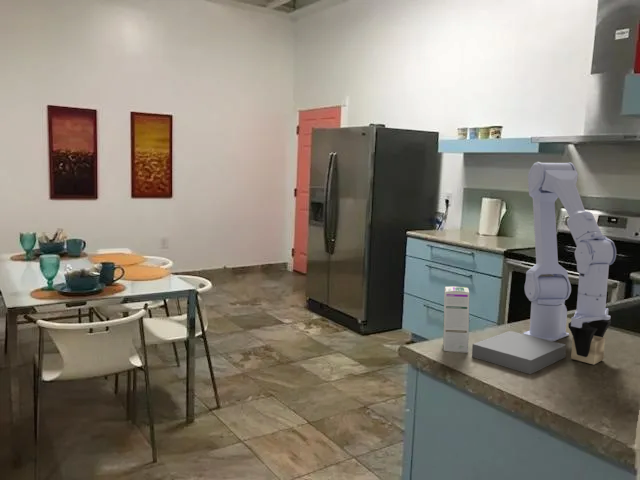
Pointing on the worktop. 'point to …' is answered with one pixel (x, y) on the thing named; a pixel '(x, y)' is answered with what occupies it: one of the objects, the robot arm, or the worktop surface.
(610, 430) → the worktop surface
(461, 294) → the syrup box
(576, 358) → the birch block
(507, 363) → the plate
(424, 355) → the worktop surface
